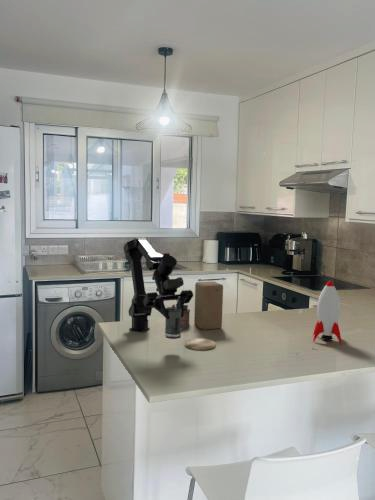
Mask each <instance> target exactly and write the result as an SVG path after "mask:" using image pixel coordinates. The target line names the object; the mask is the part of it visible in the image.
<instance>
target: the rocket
mask: <svg viewBox="0 0 375 500" xmlns="http://www.w3.org/2000/svg"><path fill="white" fill-rule="evenodd" d="M321 290H322V291H321V292H320V293H319V297H318V301H317V305H316V309H317V310H316V311H317V312H316V313H317V319H318V320H317V321H316V324H315V327H314V329H313V333H312V334H313V335H312V336H313V339H312V340H313V341H312V343H314V342H315V341H316V340H317V337H319V335H320V334H321V339H323V340H329V341H330V340H333V339H334V338H333V336H334V335H335V337H336V338H337V340H338V342H339V343H340V345H341V346H342V345H343V344H342V337H341V331H340V327H339V323H338V322H339V318H340V313H341V300H340V297H339V294H338V291H337V289H336V286H335V284H334V283H333V282H332V280H329V281H327V283H326V284H325V286H324V287H323V289H321Z"/></svg>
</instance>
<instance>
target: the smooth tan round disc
mask: <svg viewBox="0 0 375 500" xmlns="http://www.w3.org/2000/svg"><path fill="white" fill-rule="evenodd" d="M184 346H185V347H186V348H187V349H189V350H194V351H195V350H196V351H210V350H212V349H215V348H216V347H217V345H216V342H215V340H212V339H209V338H201V337H200V338H198V337H197V338H190V339H187V340H185V341H184Z"/></svg>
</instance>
